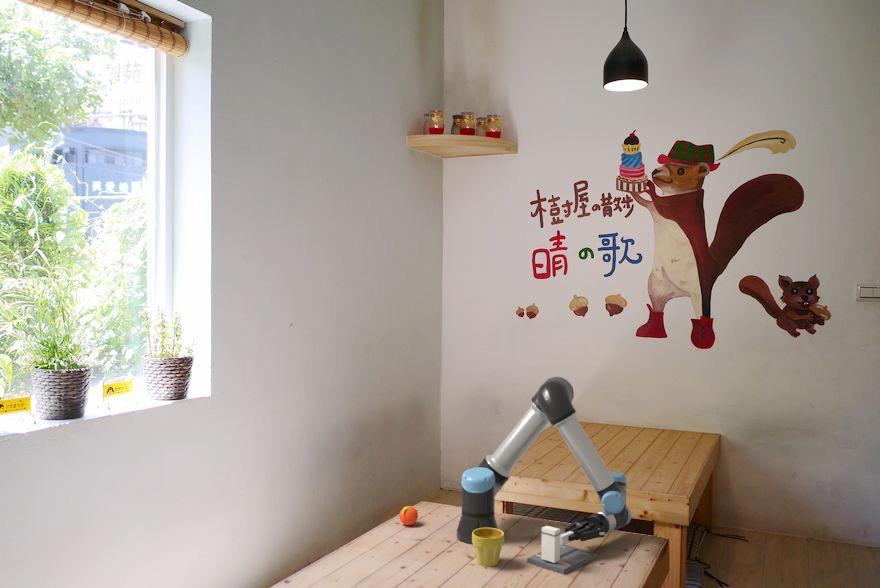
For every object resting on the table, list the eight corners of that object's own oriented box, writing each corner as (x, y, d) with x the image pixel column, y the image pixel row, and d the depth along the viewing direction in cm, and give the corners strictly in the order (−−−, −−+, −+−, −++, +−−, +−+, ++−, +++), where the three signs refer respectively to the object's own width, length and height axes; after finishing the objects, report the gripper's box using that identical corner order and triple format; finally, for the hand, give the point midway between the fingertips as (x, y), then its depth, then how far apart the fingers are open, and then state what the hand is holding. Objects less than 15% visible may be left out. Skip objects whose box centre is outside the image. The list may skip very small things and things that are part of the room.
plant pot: (502, 570, 233) (502, 539, 233) (469, 567, 236) (469, 536, 235) (505, 558, 244) (505, 528, 244) (474, 555, 246) (474, 526, 246)
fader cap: (541, 558, 238) (541, 527, 238) (546, 556, 240) (547, 525, 240) (554, 562, 234) (554, 531, 234) (560, 560, 237) (560, 529, 236)
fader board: (527, 562, 240) (527, 557, 240) (560, 547, 254) (560, 542, 254) (563, 574, 230) (563, 569, 230) (596, 558, 244) (596, 553, 244)
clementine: (409, 529, 271) (409, 510, 271) (393, 526, 275) (394, 507, 275) (421, 524, 278) (421, 505, 278) (406, 520, 282) (406, 502, 282)
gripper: (616, 539, 252) (577, 557, 236) (584, 530, 262) (544, 546, 245) (616, 517, 252) (577, 533, 235) (584, 508, 261) (544, 524, 245)
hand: (560, 540), depth 240 cm, fingers closed
